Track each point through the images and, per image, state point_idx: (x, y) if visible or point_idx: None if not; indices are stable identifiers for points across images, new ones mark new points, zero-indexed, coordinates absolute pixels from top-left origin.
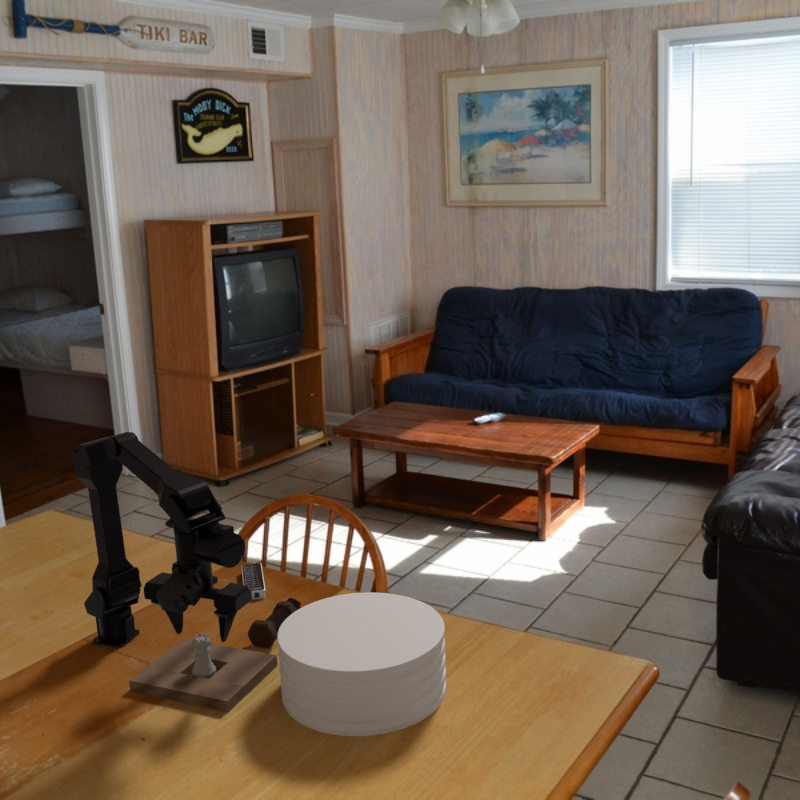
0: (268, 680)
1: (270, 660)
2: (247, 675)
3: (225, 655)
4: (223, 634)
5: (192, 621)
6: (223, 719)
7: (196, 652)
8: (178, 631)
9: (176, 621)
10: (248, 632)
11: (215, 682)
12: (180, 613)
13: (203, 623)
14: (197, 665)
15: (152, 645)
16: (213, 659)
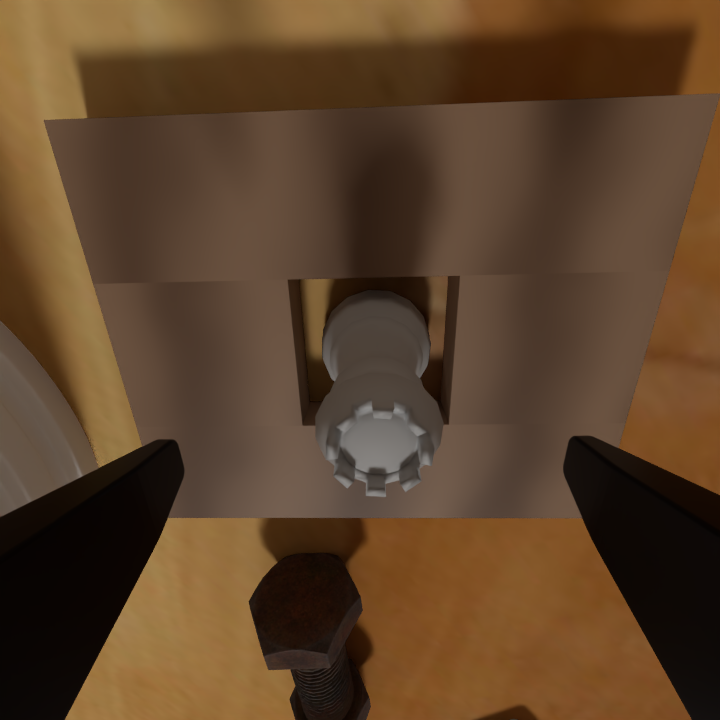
0: None
1: None
2: (149, 365)
3: None
4: (85, 477)
5: (627, 614)
6: (60, 59)
7: (386, 361)
8: (584, 449)
9: (660, 519)
10: (350, 601)
11: (236, 263)
12: (678, 635)
13: (582, 613)
14: (383, 330)
15: (715, 467)
16: None
